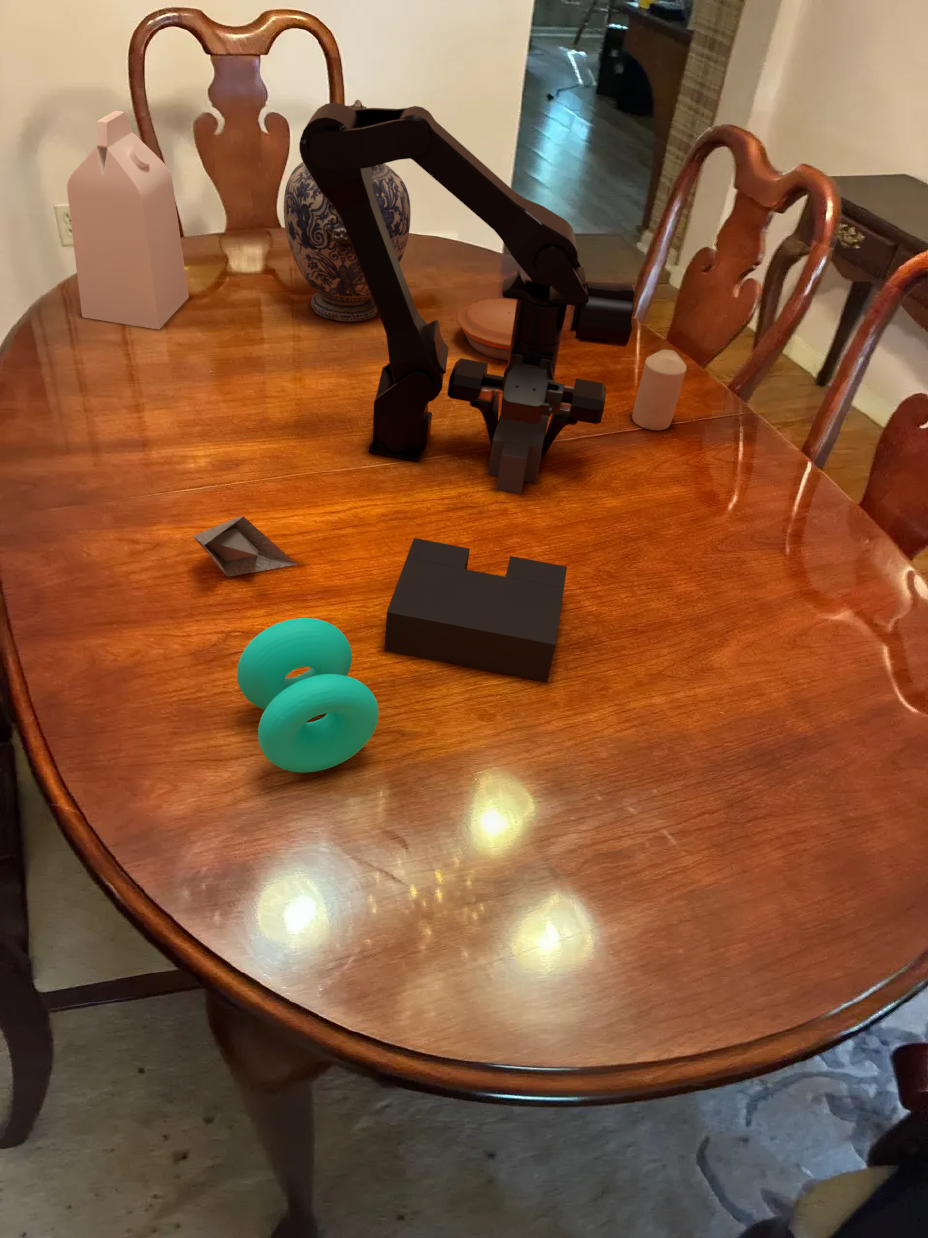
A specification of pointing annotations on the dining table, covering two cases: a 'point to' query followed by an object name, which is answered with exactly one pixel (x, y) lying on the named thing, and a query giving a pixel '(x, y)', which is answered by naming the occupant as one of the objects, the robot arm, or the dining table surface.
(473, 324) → the pie
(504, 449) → the tongue pad
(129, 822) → the dining table surface
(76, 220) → the milk
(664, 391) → the candle
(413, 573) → the notch pad
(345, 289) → the decorative vase
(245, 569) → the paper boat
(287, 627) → the donuts
